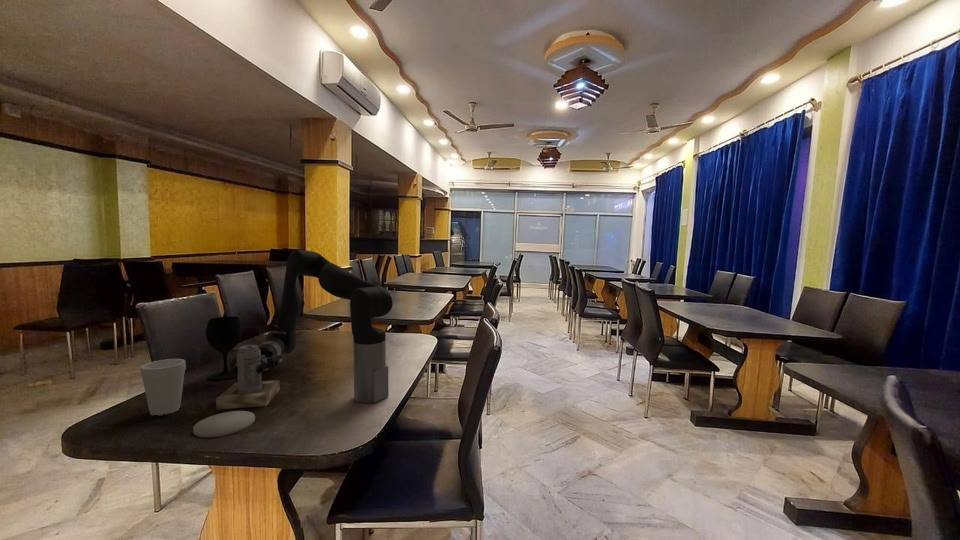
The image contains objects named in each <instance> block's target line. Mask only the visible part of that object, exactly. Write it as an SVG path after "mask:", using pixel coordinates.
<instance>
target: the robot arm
mask: <svg viewBox="0 0 960 540" xmlns="http://www.w3.org/2000/svg"><path fill="white" fill-rule="evenodd" d="M299 276H304V277H311V278H317V279H318V284H319V286H320V287H321V288H322V289H323V290H324V291H326V292H327V293H328V294H330V295H331V296H334V297H336V298H339V299H343V300H347V301H348V300H349V309H350V310H349V311H350V312H349V313H350V326H351V332H352V336H353V399H354V401H355V402H358V403H360V402H361V403H362V404H369V403H370V404H376V403H379V402H380V401H383V400H384V399H386V398H388V397H389V365H387V364H386V363H387V362H386V360H387V359H386V358H387V357H386V355H387V353H386V336H387V335H386V334H387V333H386V331H385V330H384V329H382V328H379V327H378V328H377V327H374V326H373V325H372V319H375V318H380V317H383V316H386V315H388V314H389V313H390V312H391V310H392V309H393V305H394V303H393V297H392V296H391V293H390V292H389V291H388V290H387V289H386V288H385V287H383V286H381V285H378V284H375V283H372V282H370V281H367V280H364V279H363V278H361V277H359V276H358V275H355V274H354V273H352V272H350V271H348V270H347V269H345V268H343V267H342V266H339V265H337V264H335V263H333V262H331V261H330V260H328V259H327V258H325V257H324V256H323V255H322V254H321V253H319V252H316V251H312V250H306V249H298V248H296V249H293V250H292V251H290V253H289V255H288V258H287V261H286V268H285V273H284V280H283V281H284V282H283V290H282V298H281V301H280V302H281V303H280V306H279V310H278V313H277V317H276V320H275V325H276V327H277V328H279V329H281V330H283V331H284V332H285V333H284V332H280V331H276V330H272V331H270V332H268V333H267V334H266V336H265V339H264V342H263V343H261V344H258V348H259V349H260V351H261V364H260V365H259V366H258V368H257V370H258V374H260V373H261V374H262V373H263V372H265V371H267V370H269V369H270V370H275V369H276V368H278V367H279V366H281V365H282V364H283V355H284V354H286V355H288V354H291V353H292V352H293V351H294V350H295V349H296V346H297V325H298V321H299V318H300V315H301V309H302V303H301V300H300V297H299V294H298V291H297V278H298V277H299ZM229 370H230V371H231V374H232V375H236V374H237V357H235V358H232V359H231V361H230V362H229Z"/></svg>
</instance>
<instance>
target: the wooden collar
mask: <svg viewBox="0 0 960 540" xmlns="http://www.w3.org/2000/svg"><path fill="white" fill-rule="evenodd" d="M280 387H281V385H280V380H275V379H274V380H262V391H261V392H260V393H248V394H238V382H234V383H233V384H232V385H230V386H229V387H228V388H227V389H226V390H225V391H223V392H222V393H221V394H219V395H218V397H216V399H215V402H216V403H215V405H216V410H226V409H240V408H253V407H256V408H257V407H267V406H268V404H269V403H270V402H271V401H272V400H273V398H274V397H275V396H276V395H277V393H278V392H279V391H280V390H281V389H280Z"/></svg>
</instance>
